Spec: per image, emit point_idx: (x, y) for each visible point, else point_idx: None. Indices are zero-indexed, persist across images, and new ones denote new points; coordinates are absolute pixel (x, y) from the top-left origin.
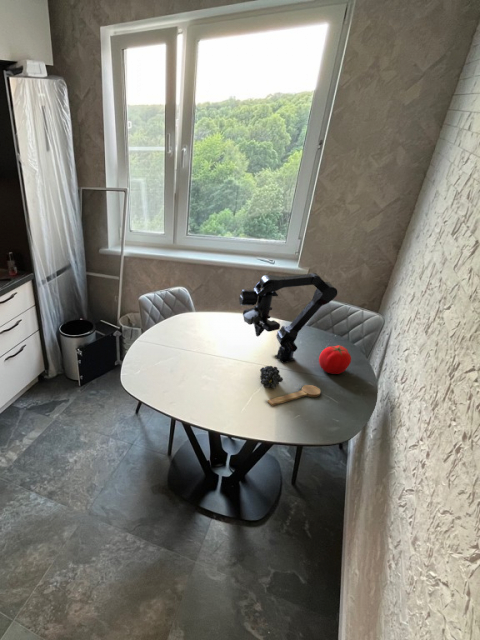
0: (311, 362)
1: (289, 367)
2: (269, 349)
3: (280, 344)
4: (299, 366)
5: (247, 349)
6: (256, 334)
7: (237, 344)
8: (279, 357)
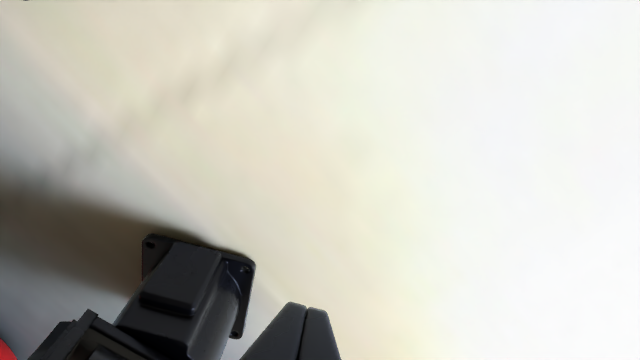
0: None
1: (82, 212)
2: (356, 316)
3: (91, 356)
4: (69, 266)
5: (494, 205)
6: (310, 335)
7: (636, 214)
8: (181, 255)
